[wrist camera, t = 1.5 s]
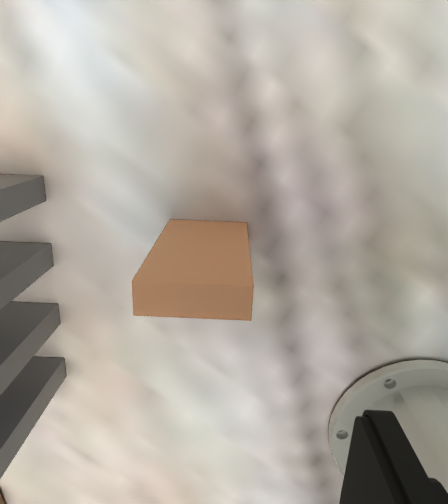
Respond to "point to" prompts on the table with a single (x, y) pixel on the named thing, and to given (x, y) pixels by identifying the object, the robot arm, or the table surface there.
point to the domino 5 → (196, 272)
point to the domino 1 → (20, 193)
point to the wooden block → (1, 499)
